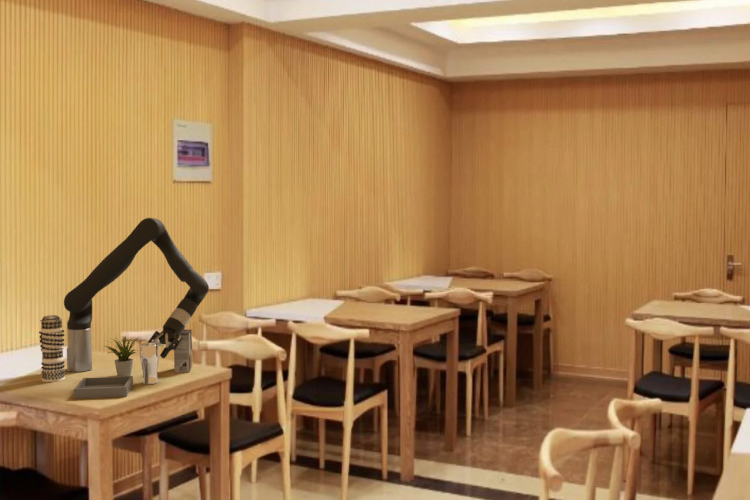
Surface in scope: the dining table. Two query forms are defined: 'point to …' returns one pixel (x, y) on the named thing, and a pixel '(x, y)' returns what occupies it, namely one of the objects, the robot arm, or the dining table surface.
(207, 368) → the dining table surface
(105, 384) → the serving tray
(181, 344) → the coffee box
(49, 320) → the decorative candle
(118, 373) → the house plant
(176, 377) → the dining table surface
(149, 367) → the beer glass
